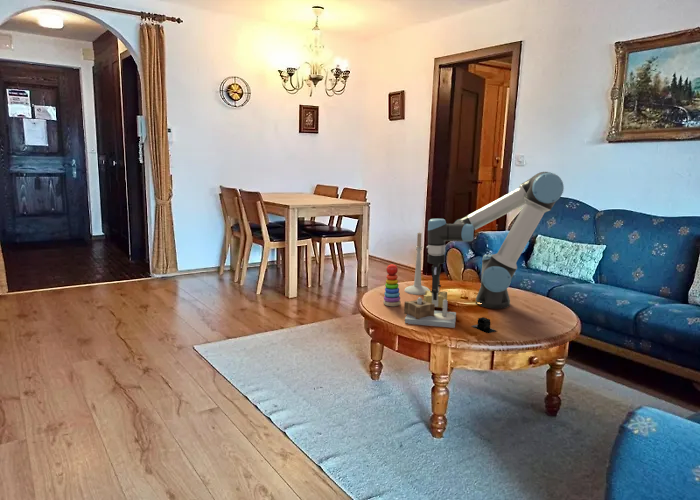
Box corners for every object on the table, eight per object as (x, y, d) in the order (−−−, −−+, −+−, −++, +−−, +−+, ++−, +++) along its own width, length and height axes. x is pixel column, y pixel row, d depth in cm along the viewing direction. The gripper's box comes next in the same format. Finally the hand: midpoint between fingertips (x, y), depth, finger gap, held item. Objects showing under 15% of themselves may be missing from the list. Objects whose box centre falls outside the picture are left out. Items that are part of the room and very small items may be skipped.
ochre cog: (447, 301, 228) (447, 291, 227) (446, 308, 218) (446, 297, 217) (425, 300, 230) (425, 290, 229) (423, 307, 221) (423, 296, 220)
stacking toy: (400, 302, 233) (401, 262, 229) (400, 307, 225) (401, 266, 221) (383, 301, 233) (384, 262, 230) (383, 306, 226) (383, 266, 222)
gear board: (455, 316, 213) (457, 295, 211) (454, 327, 200) (455, 305, 198) (408, 312, 217) (409, 291, 216) (404, 323, 204) (405, 301, 202)
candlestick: (410, 286, 259) (412, 229, 253) (433, 290, 253) (436, 231, 247) (400, 292, 249) (402, 232, 243) (424, 296, 242) (427, 235, 236)
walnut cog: (420, 309, 216) (421, 298, 215) (435, 315, 208) (436, 304, 207) (402, 313, 211) (402, 301, 210) (417, 319, 203) (417, 308, 202)
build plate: (466, 326, 203) (466, 315, 202) (479, 323, 207) (480, 313, 206) (488, 336, 192) (489, 325, 192) (502, 333, 196) (502, 322, 195)
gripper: (429, 249, 230) (429, 297, 235) (425, 258, 211) (425, 310, 215) (446, 249, 229) (445, 297, 233) (443, 259, 209) (442, 311, 214)
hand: (435, 303), depth 224 cm, fingers closed on ochre cog, 8 cm apart
